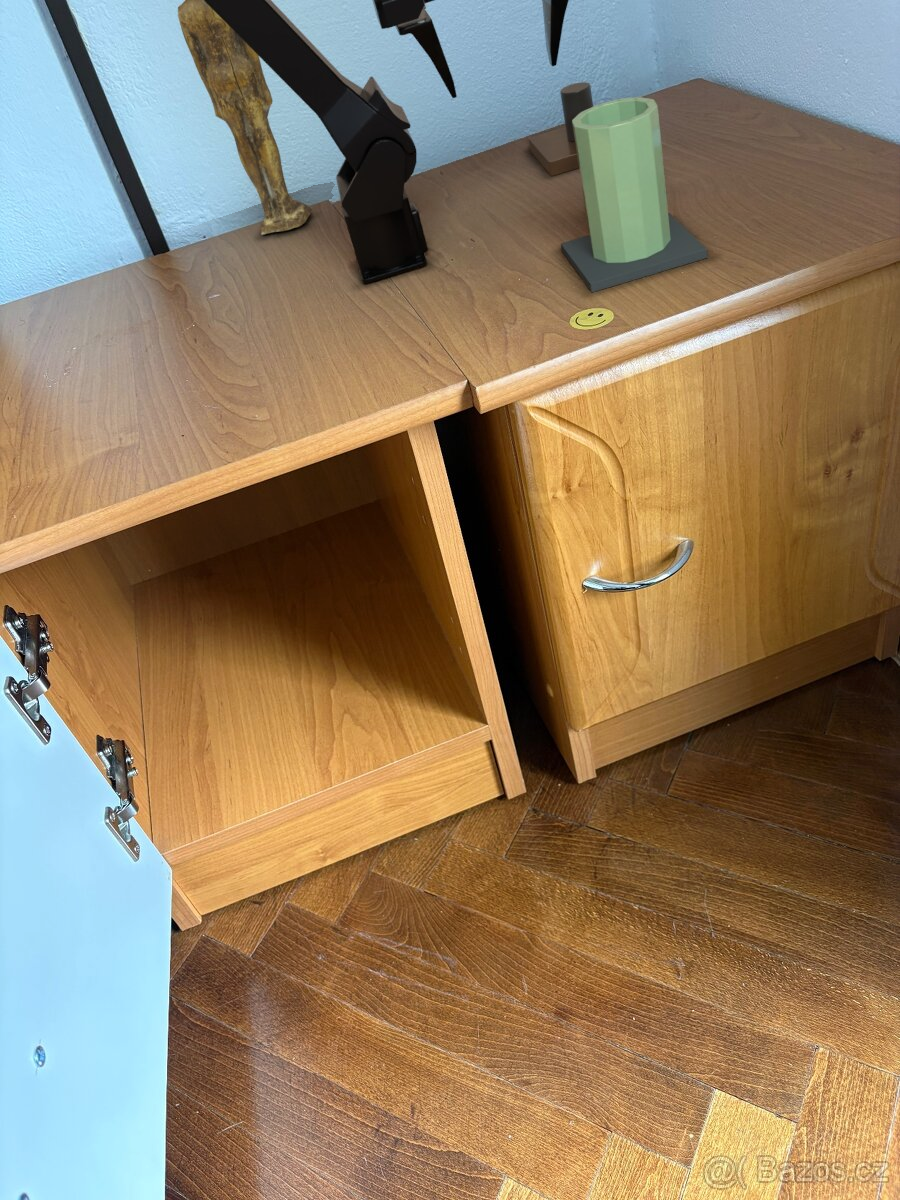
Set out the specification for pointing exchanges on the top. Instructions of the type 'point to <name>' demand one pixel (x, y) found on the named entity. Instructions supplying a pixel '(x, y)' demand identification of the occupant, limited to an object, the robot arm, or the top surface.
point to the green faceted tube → (623, 179)
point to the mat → (610, 274)
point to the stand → (562, 132)
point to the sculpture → (241, 108)
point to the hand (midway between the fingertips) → (503, 81)
